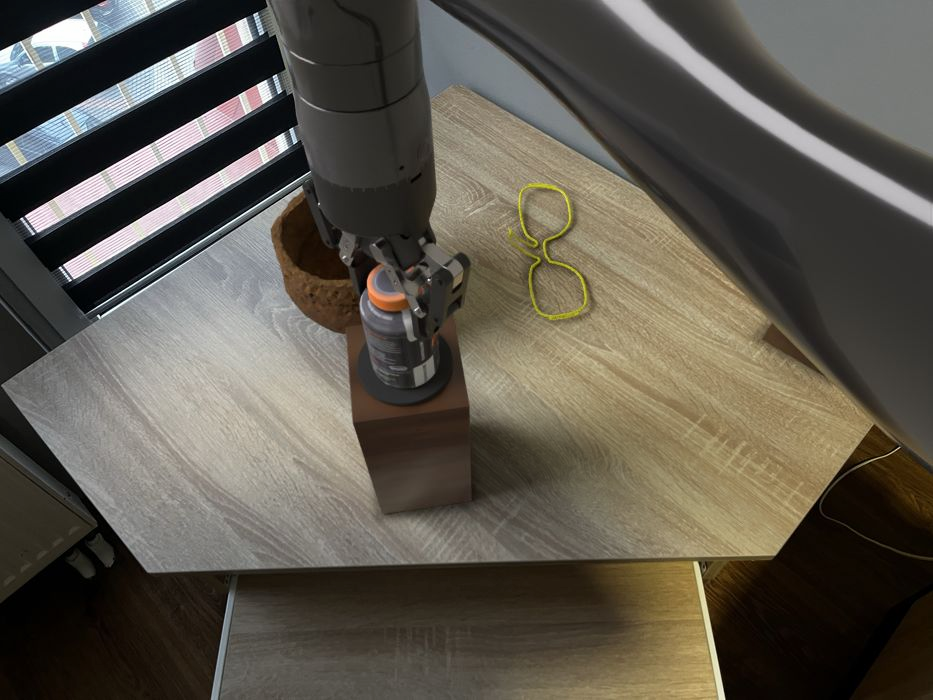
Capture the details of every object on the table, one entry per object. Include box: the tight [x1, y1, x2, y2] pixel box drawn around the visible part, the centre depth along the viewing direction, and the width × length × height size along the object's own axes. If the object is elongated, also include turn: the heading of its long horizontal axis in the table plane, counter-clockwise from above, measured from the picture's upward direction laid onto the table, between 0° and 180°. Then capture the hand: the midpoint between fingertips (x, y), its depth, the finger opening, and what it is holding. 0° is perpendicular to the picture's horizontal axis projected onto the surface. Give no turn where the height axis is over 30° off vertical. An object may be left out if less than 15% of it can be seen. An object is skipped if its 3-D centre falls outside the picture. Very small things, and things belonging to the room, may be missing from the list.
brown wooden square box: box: [762, 322, 828, 379], centre depth 88 cm, size 9×9×4 cm
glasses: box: [507, 182, 588, 321], centre depth 96 cm, size 25×10×5 cm, turn 3°
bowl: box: [270, 190, 431, 335], centre depth 87 cm, size 19×19×15 cm
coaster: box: [357, 333, 453, 406], centre depth 61 cm, size 8×8×1 cm
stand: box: [345, 314, 473, 515], centre depth 71 cm, size 10×10×22 cm
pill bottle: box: [359, 264, 440, 389], centre depth 56 cm, size 6×6×11 cm
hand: (397, 310), depth 55 cm, fingers closed on pill bottle, 6 cm apart
